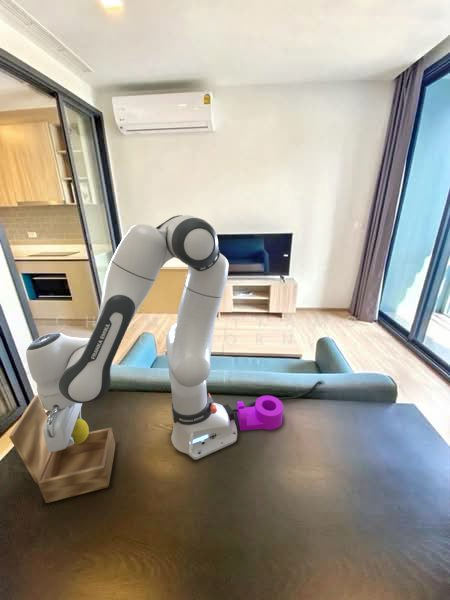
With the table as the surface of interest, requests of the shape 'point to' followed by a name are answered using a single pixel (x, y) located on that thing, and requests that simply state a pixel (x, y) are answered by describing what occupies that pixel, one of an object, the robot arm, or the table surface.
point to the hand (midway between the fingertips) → (74, 432)
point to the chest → (79, 467)
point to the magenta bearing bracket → (260, 414)
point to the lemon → (80, 431)
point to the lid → (32, 438)
